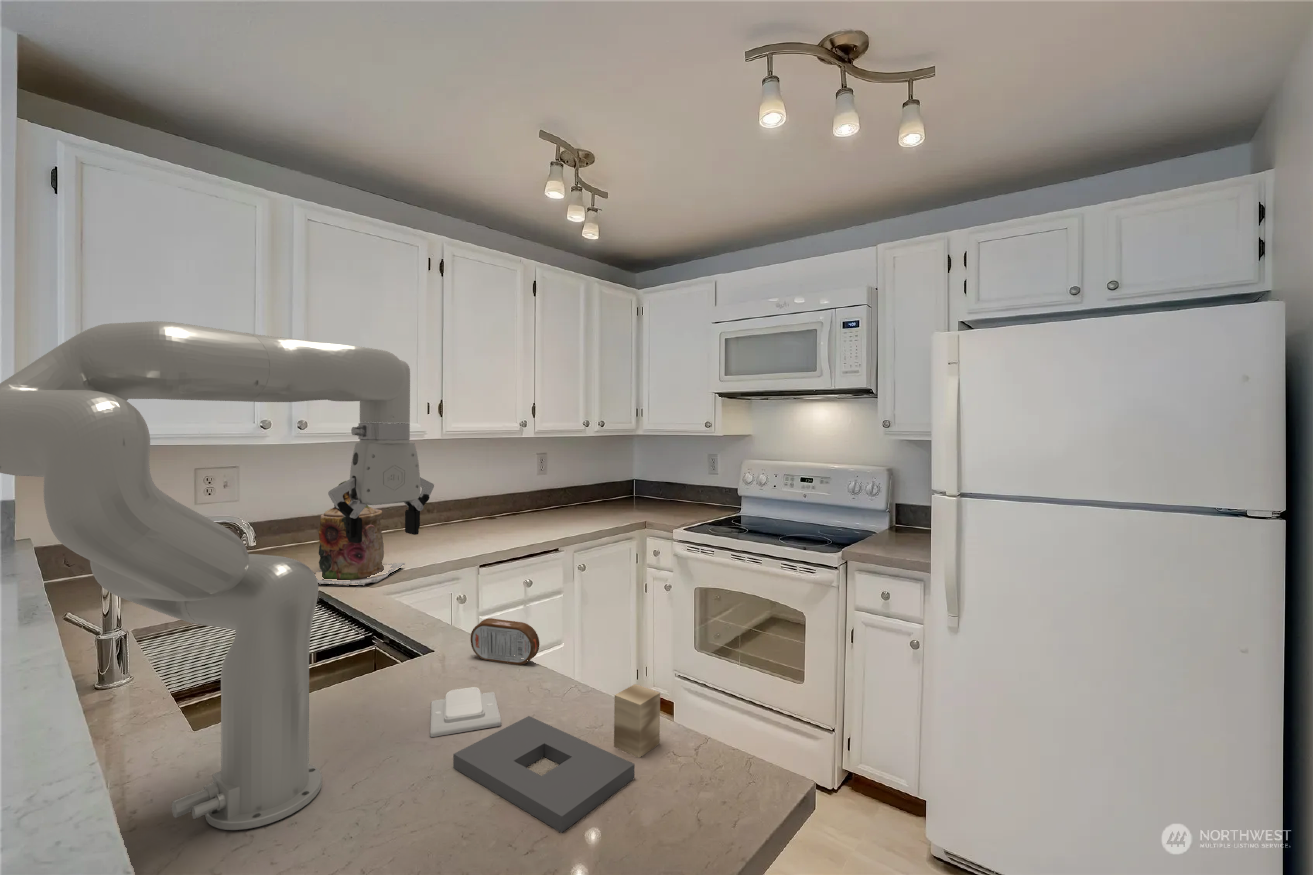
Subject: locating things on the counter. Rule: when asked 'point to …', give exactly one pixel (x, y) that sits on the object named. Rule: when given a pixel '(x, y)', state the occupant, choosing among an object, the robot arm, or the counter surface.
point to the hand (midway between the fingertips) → (384, 537)
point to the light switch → (464, 712)
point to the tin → (504, 641)
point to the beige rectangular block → (637, 720)
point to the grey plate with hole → (557, 792)
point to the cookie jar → (351, 548)
